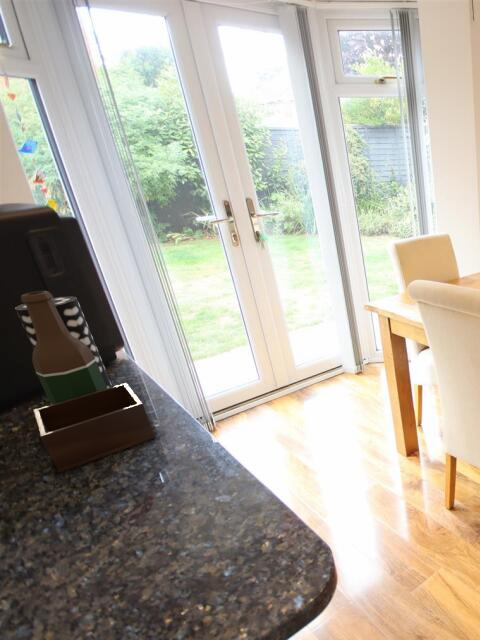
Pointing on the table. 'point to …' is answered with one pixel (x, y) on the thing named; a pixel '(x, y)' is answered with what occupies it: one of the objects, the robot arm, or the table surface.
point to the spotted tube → (73, 323)
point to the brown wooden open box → (93, 426)
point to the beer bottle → (60, 353)
